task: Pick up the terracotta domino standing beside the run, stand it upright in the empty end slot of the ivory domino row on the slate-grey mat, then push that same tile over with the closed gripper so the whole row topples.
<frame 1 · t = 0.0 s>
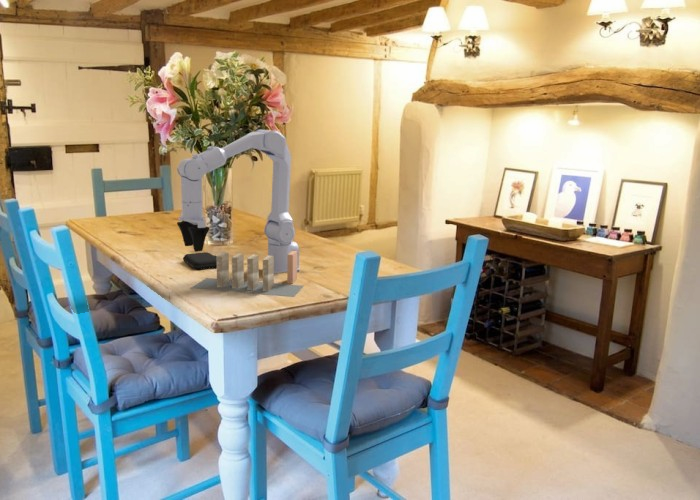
hand: (193, 248, 168), 10 cm above the table, fingers open, 7 cm apart
terracotta domino: (292, 282, 173), on the table
ivory domino 5: (223, 284, 167), resting on slate runway mat
ivory domino 2: (268, 288, 165), resting on slate runway mat
ivory domino 3: (253, 287, 166), resting on slate runway mat
ivory domino 4: (238, 286, 166), resting on slate runway mat
slate runway mat: (248, 287, 166), on the table
carrying case or bag: (204, 266, 190), on the table
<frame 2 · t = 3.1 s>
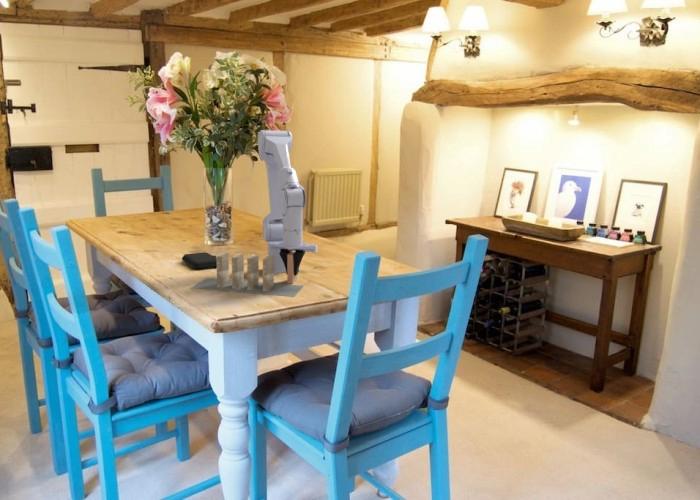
hand: (292, 274, 172), 2 cm above the table, fingers closed on terracotta domino, 2 cm apart
terracotta domino: (292, 282, 173), on the table, touching gripper
everything else where it was.
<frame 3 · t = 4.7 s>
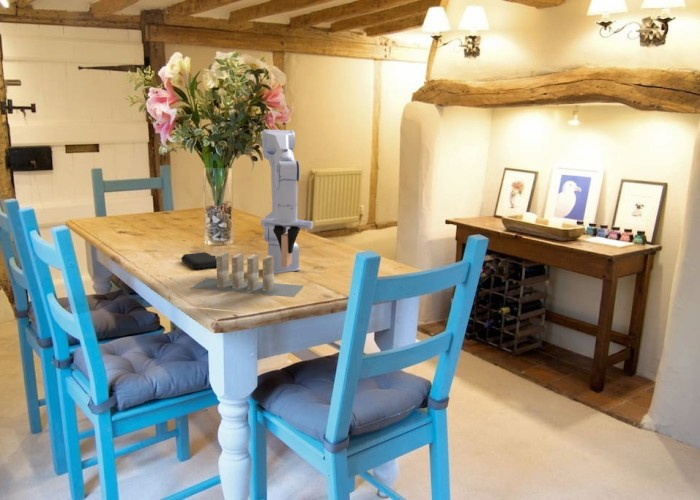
hand: (286, 252, 165), 11 cm above the table, fingers closed on terracotta domino
terracotta domino: (286, 264, 165), point 7 cm above the table, touching gripper
everything else where it was.
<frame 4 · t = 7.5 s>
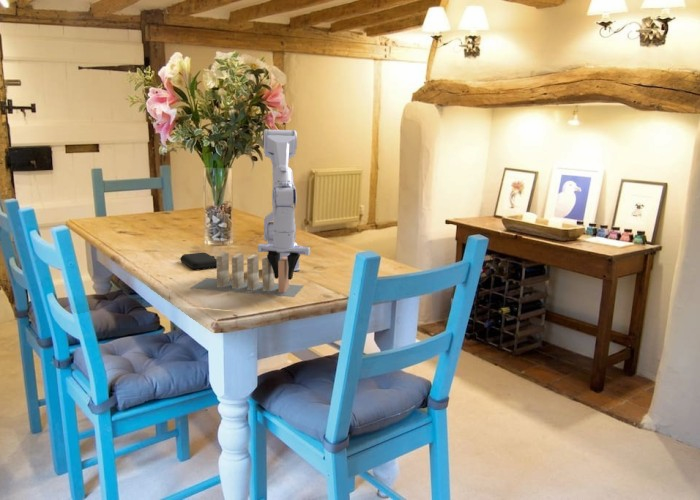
hand: (283, 278, 163), 4 cm above the table, fingers open, 3 cm apart
terracotta domino: (283, 289, 164), resting on slate runway mat
ivory domino 2: (268, 288, 165), resting on slate runway mat, touching gripper
everything else where it was.
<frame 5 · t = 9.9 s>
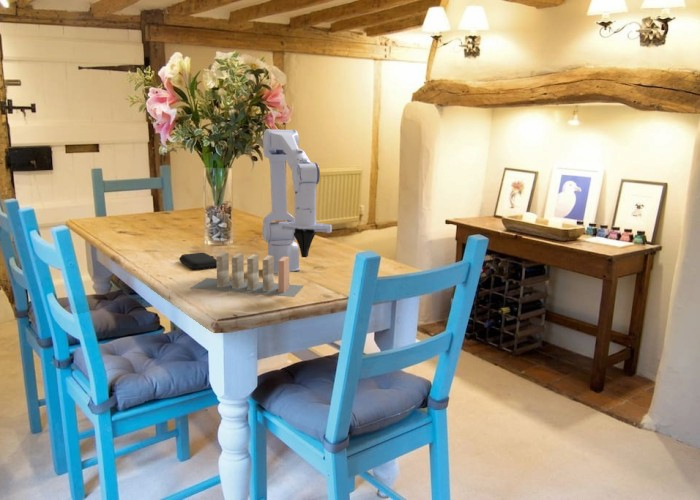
hand: (304, 256, 161), 10 cm above the table, fingers closed
ivory domino 2: (268, 288, 165), resting on slate runway mat
everything else where it was.
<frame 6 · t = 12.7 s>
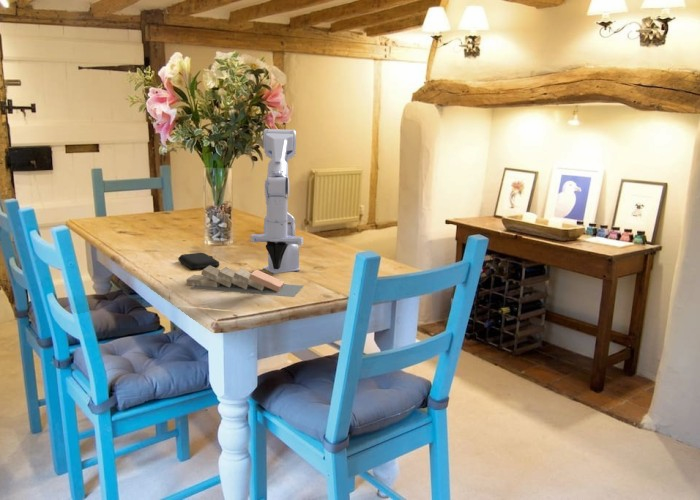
hand: (276, 268, 163), 6 cm above the table, fingers closed
terracotta domino: (281, 287, 164), point 1 cm above the table, tilted 70°, touching ivory domino 2, slate runway mat
ivory domino 5: (220, 281, 167), point 1 cm above the table, tilted 90°, touching ivory domino 4, slate runway mat
ivory domino 2: (265, 285, 165), point 1 cm above the table, tilted 70°, touching ivory domino 3, slate runway mat, terracotta domino
ivory domino 3: (249, 284, 166), point 1 cm above the table, tilted 69°, touching ivory domino 2, ivory domino 4, slate runway mat
ivory domino 4: (233, 282, 166), point 1 cm above the table, tilted 69°, touching ivory domino 3, ivory domino 5
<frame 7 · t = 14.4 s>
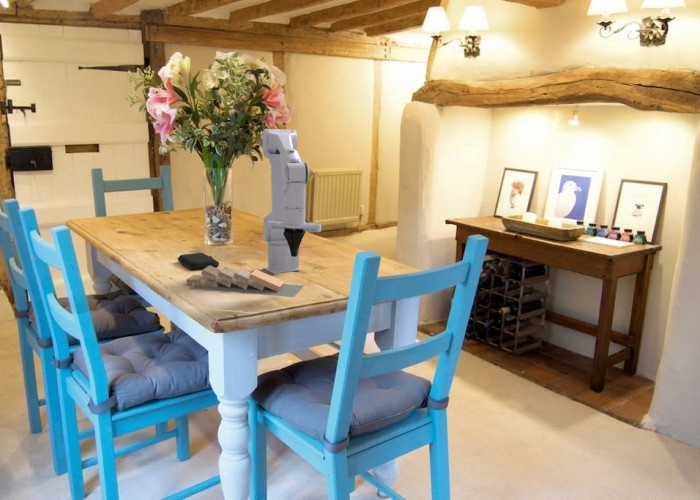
hand: (294, 255, 161), 10 cm above the table, fingers closed
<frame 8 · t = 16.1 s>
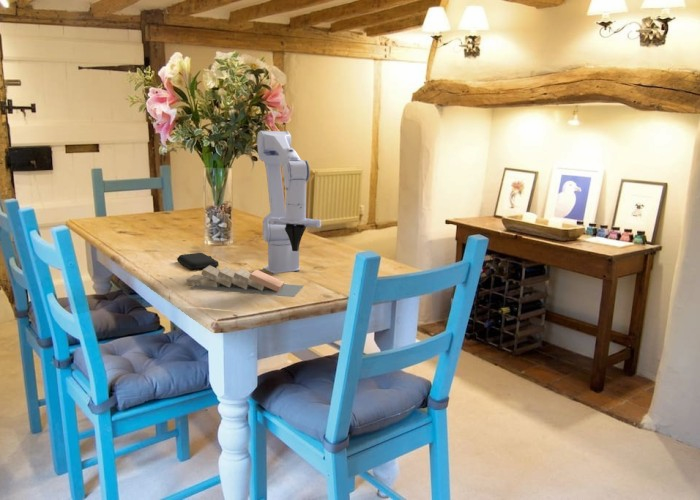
hand: (295, 250, 168), 10 cm above the table, fingers closed
at the end: ivory domino 5 tilted 90°; ivory domino 3 tilted 69°; terracotta domino tilted 70° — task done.
